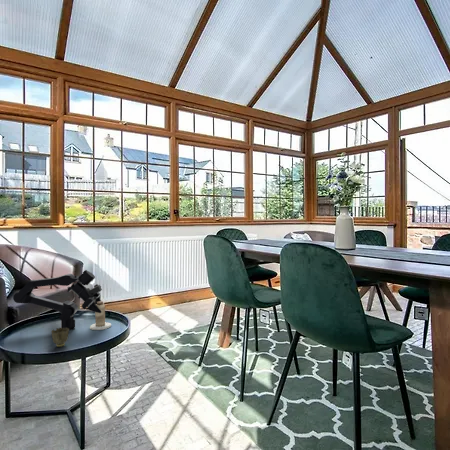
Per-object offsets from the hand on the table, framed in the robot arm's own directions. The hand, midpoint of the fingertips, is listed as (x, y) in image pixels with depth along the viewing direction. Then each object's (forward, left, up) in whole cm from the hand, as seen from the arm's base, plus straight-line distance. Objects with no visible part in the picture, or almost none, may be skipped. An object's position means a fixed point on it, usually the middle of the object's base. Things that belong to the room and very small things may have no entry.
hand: (102, 310), depth 185 cm
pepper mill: (-1, +1, -8) cm, 8 cm away
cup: (-23, -19, -9) cm, 32 cm away
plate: (-1, +1, -9) cm, 9 cm away
